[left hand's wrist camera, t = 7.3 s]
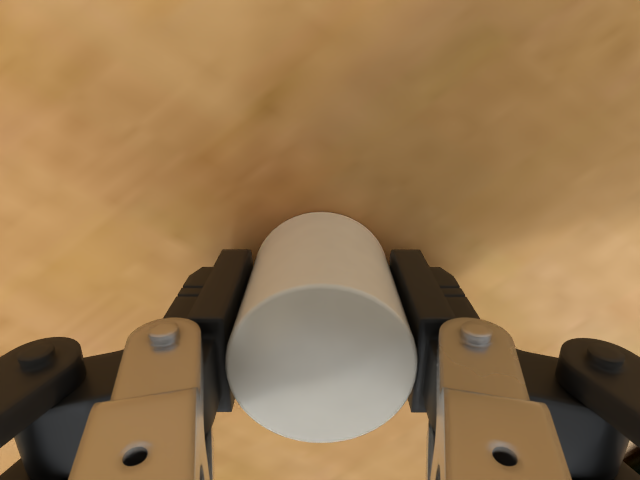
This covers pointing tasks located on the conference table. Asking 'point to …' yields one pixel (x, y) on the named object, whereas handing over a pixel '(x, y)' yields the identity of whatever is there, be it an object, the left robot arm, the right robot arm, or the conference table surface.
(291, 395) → the canister
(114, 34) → the conference table surface
